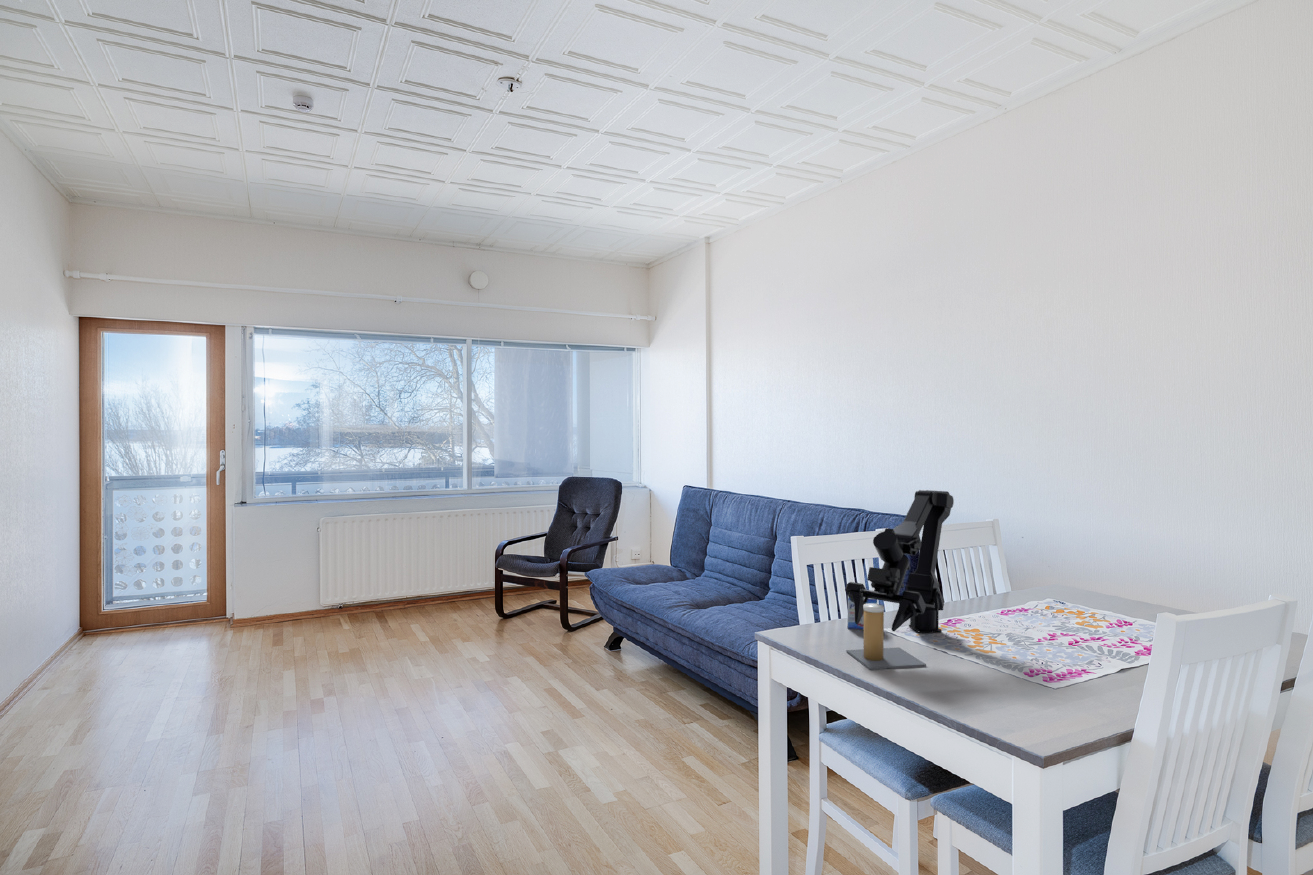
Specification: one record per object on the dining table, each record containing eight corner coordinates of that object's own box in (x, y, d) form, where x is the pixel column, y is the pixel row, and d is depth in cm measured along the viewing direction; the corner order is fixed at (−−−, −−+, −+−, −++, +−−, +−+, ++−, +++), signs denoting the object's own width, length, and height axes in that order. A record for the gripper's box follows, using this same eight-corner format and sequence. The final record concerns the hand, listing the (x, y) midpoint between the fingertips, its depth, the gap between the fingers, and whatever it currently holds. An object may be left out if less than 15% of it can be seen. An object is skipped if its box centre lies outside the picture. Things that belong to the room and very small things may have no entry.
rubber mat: (899, 649, 182) (899, 647, 182) (926, 666, 169) (926, 664, 169) (846, 652, 179) (846, 650, 179) (869, 669, 167) (869, 667, 167)
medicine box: (847, 628, 200) (847, 597, 200) (847, 624, 205) (848, 593, 204) (877, 630, 198) (877, 599, 198) (877, 626, 202) (877, 595, 202)
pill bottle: (873, 653, 177) (873, 602, 177) (888, 658, 173) (888, 606, 172) (858, 656, 175) (859, 604, 174) (873, 662, 170) (873, 609, 170)
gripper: (848, 550, 184) (827, 601, 175) (921, 559, 171) (902, 615, 163) (861, 575, 190) (842, 626, 182) (933, 586, 177) (916, 641, 169)
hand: (874, 626), depth 174 cm, fingers open, 9 cm apart
